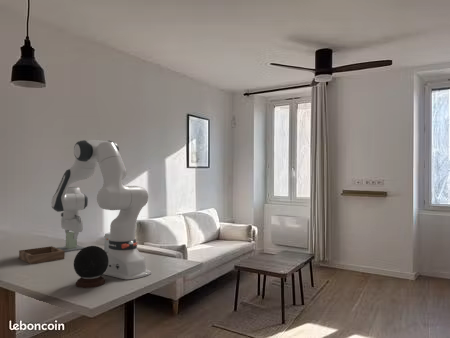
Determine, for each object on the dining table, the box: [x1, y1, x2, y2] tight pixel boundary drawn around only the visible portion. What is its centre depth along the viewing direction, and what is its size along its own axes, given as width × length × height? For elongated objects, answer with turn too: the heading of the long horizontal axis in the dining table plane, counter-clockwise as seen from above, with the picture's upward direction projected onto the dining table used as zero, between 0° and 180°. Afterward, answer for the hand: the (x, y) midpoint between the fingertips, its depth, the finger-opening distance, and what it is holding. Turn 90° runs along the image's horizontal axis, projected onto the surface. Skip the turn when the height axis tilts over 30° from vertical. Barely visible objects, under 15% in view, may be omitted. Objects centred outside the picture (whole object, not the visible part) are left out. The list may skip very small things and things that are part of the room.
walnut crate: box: [18, 245, 66, 265], centre depth 175 cm, size 16×16×4 cm
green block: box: [65, 231, 78, 249], centre depth 199 cm, size 4×4×9 cm
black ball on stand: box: [73, 245, 109, 289], centre depth 137 cm, size 13×13×15 cm
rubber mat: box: [56, 244, 85, 253], centre depth 199 cm, size 12×12×1 cm
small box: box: [103, 231, 110, 253], centre depth 195 cm, size 8×6×10 cm
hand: (71, 238), depth 199 cm, fingers open, 8 cm apart
